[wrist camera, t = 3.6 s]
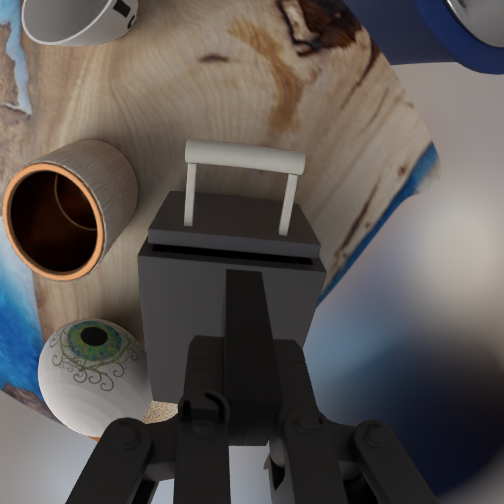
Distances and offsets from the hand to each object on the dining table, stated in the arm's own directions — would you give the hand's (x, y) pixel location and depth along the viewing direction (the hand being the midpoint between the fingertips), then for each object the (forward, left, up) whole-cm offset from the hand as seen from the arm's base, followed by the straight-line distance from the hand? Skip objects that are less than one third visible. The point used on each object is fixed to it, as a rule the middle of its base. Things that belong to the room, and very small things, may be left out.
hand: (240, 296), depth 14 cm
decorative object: (+15, +23, -19) cm, 33 cm away
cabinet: (0, +12, -19) cm, 22 cm away
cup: (+14, -16, -19) cm, 28 cm away
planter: (+15, +2, -19) cm, 24 cm away
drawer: (0, +6, -18) cm, 19 cm away
